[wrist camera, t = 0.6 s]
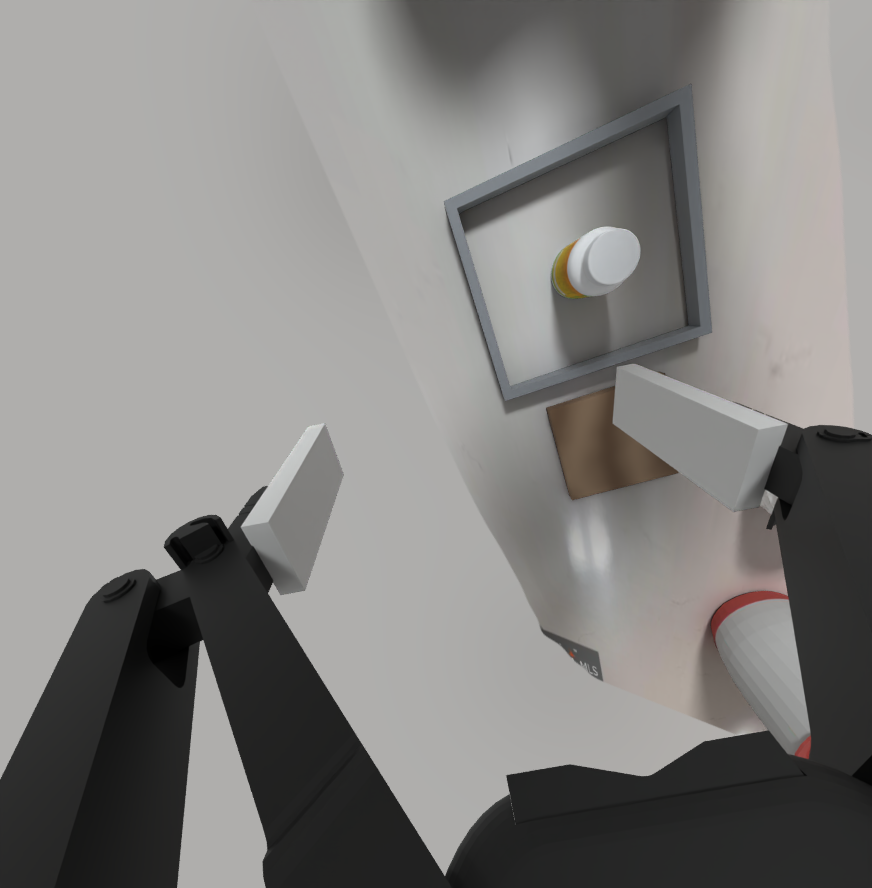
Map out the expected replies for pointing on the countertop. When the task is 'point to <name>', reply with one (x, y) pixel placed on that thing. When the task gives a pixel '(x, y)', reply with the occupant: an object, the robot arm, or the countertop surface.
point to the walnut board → (599, 447)
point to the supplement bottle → (595, 263)
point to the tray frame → (688, 217)
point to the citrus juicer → (765, 664)
